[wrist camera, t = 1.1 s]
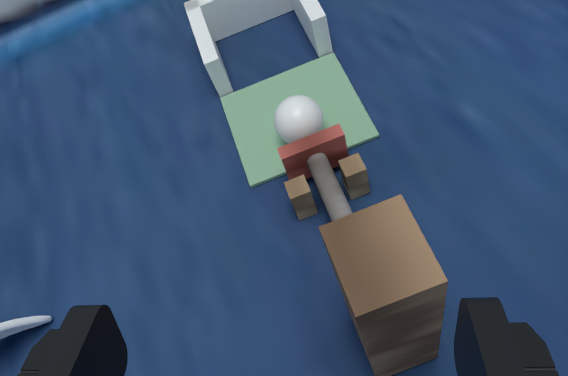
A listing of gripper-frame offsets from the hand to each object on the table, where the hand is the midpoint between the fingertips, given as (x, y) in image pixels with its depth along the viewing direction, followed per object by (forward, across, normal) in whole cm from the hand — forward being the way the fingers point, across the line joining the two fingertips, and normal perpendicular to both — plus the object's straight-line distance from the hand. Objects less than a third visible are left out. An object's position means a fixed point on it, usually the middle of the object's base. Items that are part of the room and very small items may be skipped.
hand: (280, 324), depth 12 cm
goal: (+36, +4, +7) cm, 37 cm away
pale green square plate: (+28, +2, +10) cm, 29 cm away
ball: (+25, +1, +8) cm, 26 cm away
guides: (+21, -1, +12) cm, 24 cm away
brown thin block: (+17, -2, +14) cm, 22 cm away
